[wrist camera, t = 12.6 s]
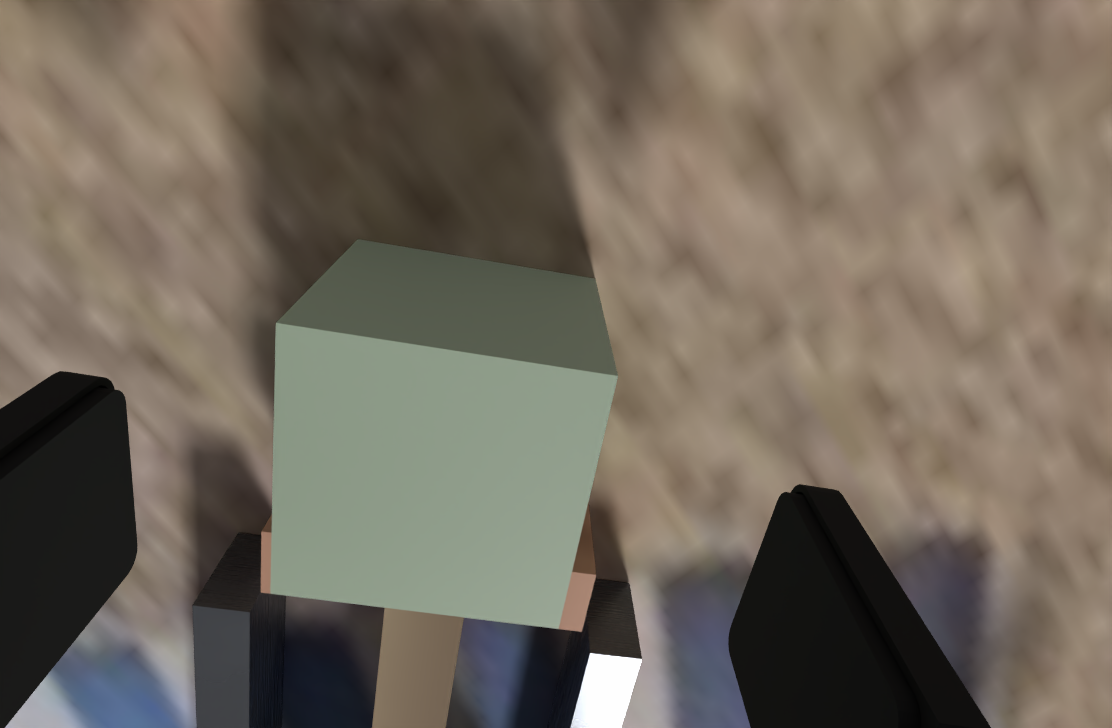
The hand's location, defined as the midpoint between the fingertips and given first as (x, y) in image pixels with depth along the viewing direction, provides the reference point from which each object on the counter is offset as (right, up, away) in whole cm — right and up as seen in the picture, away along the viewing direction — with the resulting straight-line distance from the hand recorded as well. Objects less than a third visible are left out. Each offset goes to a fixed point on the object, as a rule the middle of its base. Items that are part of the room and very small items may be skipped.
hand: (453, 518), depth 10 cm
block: (-1, +2, +6) cm, 6 cm away
